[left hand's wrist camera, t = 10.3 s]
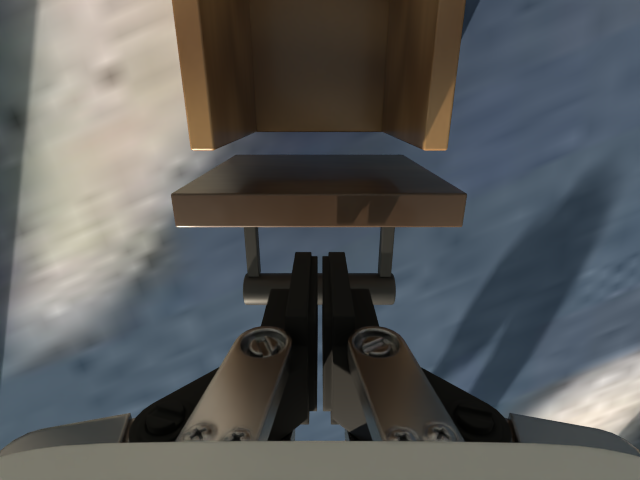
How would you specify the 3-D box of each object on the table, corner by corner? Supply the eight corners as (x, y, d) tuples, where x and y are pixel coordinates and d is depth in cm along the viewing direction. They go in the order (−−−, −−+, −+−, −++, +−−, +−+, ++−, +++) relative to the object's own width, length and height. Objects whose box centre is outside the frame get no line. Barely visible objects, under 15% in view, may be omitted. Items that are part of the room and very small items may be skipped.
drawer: (394, 265, 24) (441, 368, 14) (244, 265, 24) (196, 368, 14) (442, -322, 14) (661, -1079, 5) (195, -322, 14) (-26, -1079, 5)
